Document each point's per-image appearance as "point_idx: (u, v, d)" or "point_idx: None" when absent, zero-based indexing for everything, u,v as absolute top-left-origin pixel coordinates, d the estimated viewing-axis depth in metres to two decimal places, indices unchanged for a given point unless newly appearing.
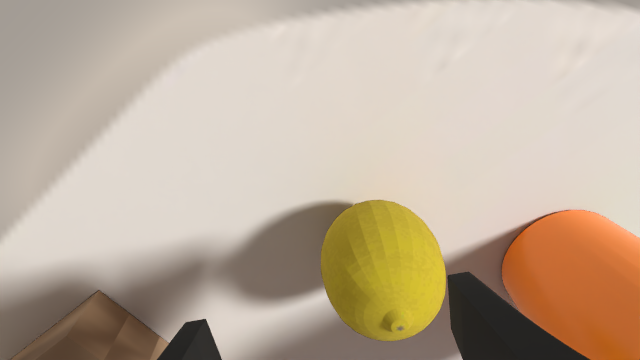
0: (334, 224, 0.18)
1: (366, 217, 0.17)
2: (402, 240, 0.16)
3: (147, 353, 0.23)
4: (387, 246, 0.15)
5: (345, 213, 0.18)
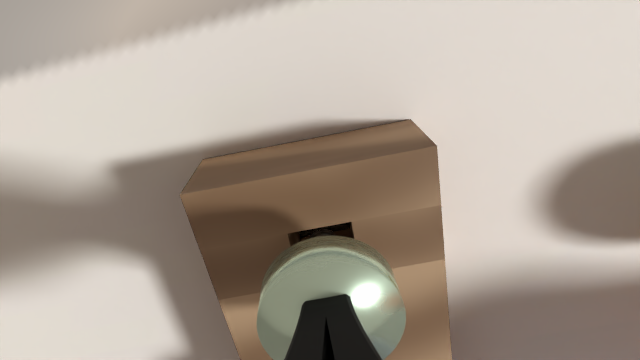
0: None
1: None
2: None
3: None
4: None
5: None
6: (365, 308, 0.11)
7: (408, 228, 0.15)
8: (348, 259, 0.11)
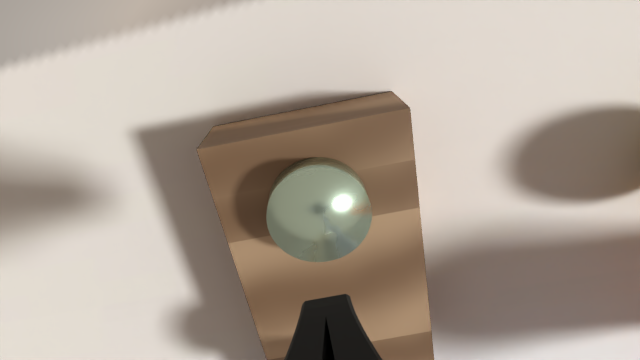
0: None
1: None
2: None
3: None
4: None
5: None
6: (343, 205, 0.16)
7: (388, 180, 0.17)
8: (330, 168, 0.16)
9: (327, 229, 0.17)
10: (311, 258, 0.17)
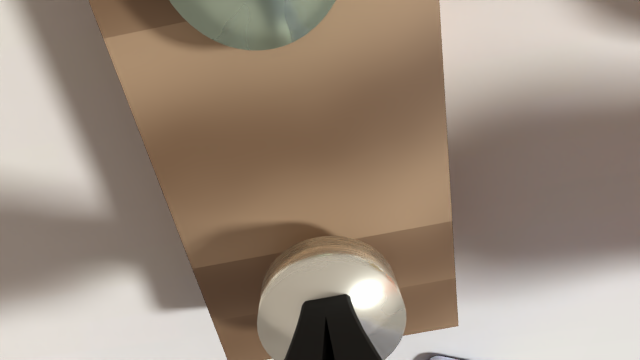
0: None
1: None
2: None
3: None
4: None
5: None
6: None
7: None
8: None
9: None
10: (241, 41, 0.09)
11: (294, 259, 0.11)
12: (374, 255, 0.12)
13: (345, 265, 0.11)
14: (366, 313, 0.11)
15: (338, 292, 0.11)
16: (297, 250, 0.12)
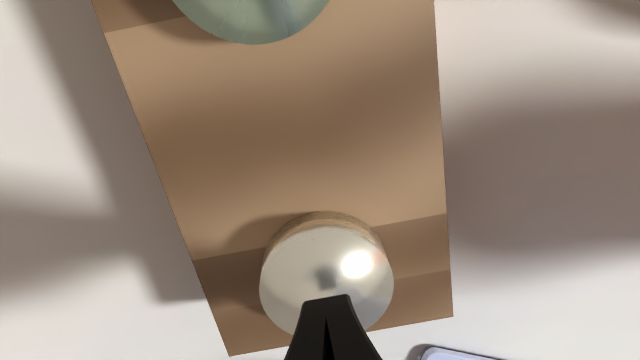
0: None
1: None
2: None
3: None
4: None
5: None
6: None
7: None
8: None
9: None
10: (239, 35, 0.10)
11: (292, 230, 0.13)
12: (365, 228, 0.13)
13: (338, 235, 0.12)
14: (357, 279, 0.13)
15: (332, 260, 0.12)
16: (295, 223, 0.13)
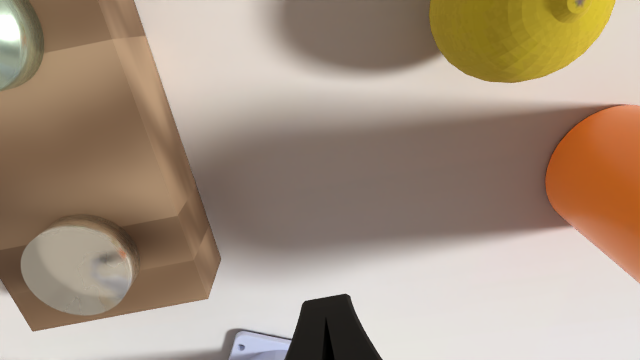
0: None
1: None
2: None
3: (130, 29, 0.16)
4: None
5: None
6: None
7: None
8: None
9: None
10: None
11: (46, 229, 0.17)
12: (108, 227, 0.17)
13: (73, 231, 0.16)
14: (97, 266, 0.17)
15: (72, 250, 0.16)
16: (53, 223, 0.17)
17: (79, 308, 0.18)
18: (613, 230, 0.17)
